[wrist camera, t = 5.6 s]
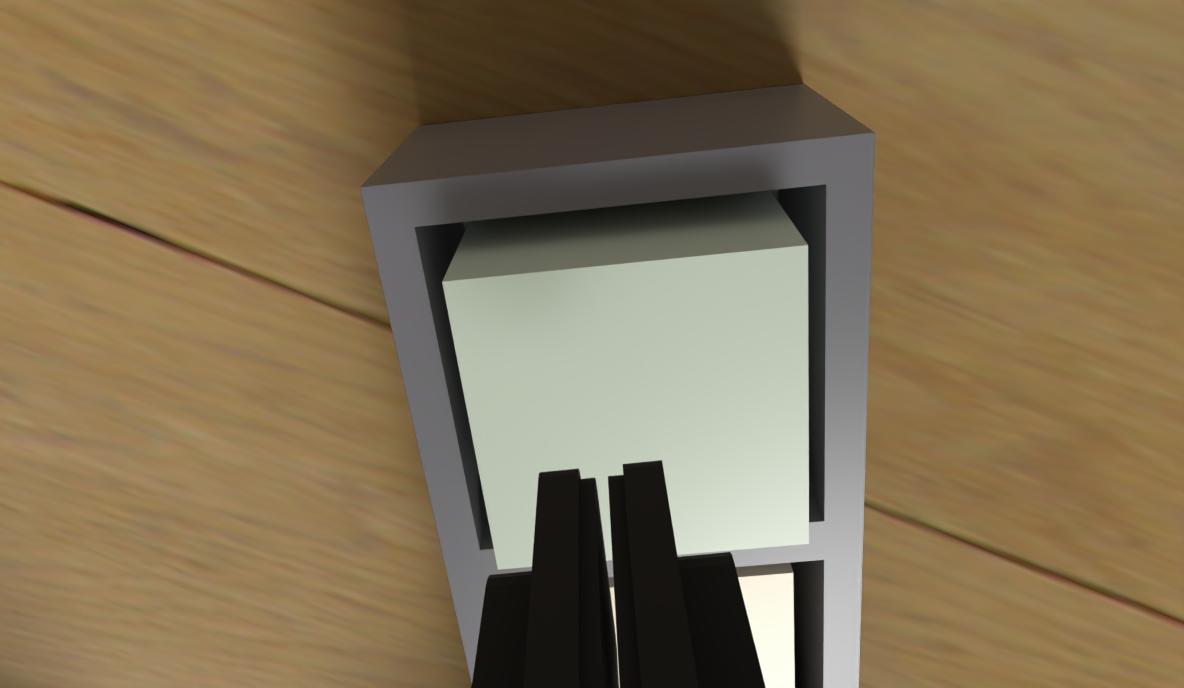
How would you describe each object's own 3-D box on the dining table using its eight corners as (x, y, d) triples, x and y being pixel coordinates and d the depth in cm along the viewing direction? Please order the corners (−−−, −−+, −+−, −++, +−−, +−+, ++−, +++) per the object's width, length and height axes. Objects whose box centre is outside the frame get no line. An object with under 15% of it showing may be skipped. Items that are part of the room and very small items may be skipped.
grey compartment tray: (803, 83, 19) (874, 133, 14) (807, 821, 30) (849, 997, 25) (419, 126, 20) (359, 187, 15) (554, 838, 30) (546, 1014, 25)
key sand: (761, 470, 22) (793, 572, 19) (766, 645, 25) (795, 765, 21) (531, 490, 23) (519, 595, 19) (559, 661, 25) (553, 782, 22)
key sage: (764, 182, 18) (808, 244, 14) (771, 435, 20) (808, 543, 16) (473, 212, 18) (442, 282, 14) (515, 457, 20) (497, 569, 17)
